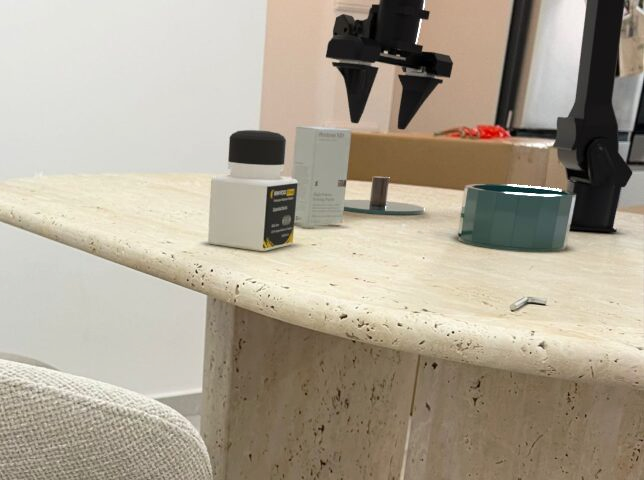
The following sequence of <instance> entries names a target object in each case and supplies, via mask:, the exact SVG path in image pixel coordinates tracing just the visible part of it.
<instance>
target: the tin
mask: <svg viewBox="0 0 644 480" xmlns="http://www.w3.org/2000/svg"><path fill="white" fill-rule="evenodd" d="M463 189H464V190H463V197H462V202H461V211H460V218H459V223H458V232H457V236H458V238H457V240H458V241H460V242H462V243H465V244H467V245H471V246H475V247H481V248H487V249H495V250H501V251H502V250H504V251H511V252H513V251H514V252H528V253H529V252H530V253H531V252H532V253H552V252H561V251H564V250H565V249H566V246H567V245H568V241H569V235H570V230H571V229H570V225H571V220H572V214H573V209H574V204H575V198H576V194H575V193H573V192H569V191H568V190H563V189H559V188H557V189H556V188H550V187H549V188H548V187H541V186H531V185H530V186H528V185H519V184H518V185H517V184H503V183H501V184H500V183H499V184H498V183H473V184H465V185H464V188H463Z"/></svg>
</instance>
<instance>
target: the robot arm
mask: <svg viewBox="0 0 644 480" xmlns="http://www.w3.org/2000/svg"><path fill="white" fill-rule="evenodd" d="M425 3H426V0H379V2H378V4H376V3H374V4H373V3H372V4H371V7H370V8H369V11H368V15H367V18H365V19H355V18H354V16H353V15H350V14H349V15H348V14H345V13H343V14H340V15H338V16H336V17H335V20H334V24H333V29H332V37H331V38H330V40H328V41H327V46H326V53H325V58H326V59H330V60H337V61H339V62H337V61H331V65H332V67H333V68H336V69H337V71H338V72H339V73H340V75H341V76H342V78H343V80H344V81H343V82H344V85H345V90H346V96H347V104H348V111H349V119H350V122H351V124H359V123H360V121H361V118H362V116H363V114H364V111H365V109H366V106H367V102H368V100H369V97H370V94H371V91H372V88H373V86H374V83H375V80H376V78H377V74H378V72H379V67H378V66H372V65H373V64H375V63H380V64H385V65H390V66H395V67H400V69H401V70H402V72H403V73H405V74H397V77H398V80H399V82H400V84H401V87H402V89H401V95H400V96H401V97H400V101H399V102H400V103H399V110H398V114H397V115H398V117H397V130H403V131H405V130H406V129H407V127H408V126H409V124H410V123H411V121H412V120H413V119H414V117H415V115H416V114H417V113H418V112H419V110H420V108H421V107H422V105H424V103H425V102H426V101H427V99H428V98H429V96H430V95H431V94H432V93H433V91H434V90H435V89H436V88H437V87H438V85H441V84H443V83H444V79H445V78H447V79H450V78H451V75H452V70H453V66H454V62H453V60H452V58H451V55H448V54H444V53H440V52H434V51H423V48H424V45H421V44H417V43H418V38H419V34H420V29H421V23H422V20H423V21H424V20H426V21H429V19H430V14H431V11H430V10H428V9H427V10H426V9H424V8H425ZM625 4H626V0H586V3H585V5H586V6H585V13H584V21H583V31H582V38H581V39H582V40H581V45H580V46H581V48H580V56H579V65H578V72H577V82H576V90H575V98H574V99H575V100H574V101H573V105H572V107H571V110H570V111H569V112H568V113H569V114H568V115H567V116H558V117H557V119H556V137H555V141H554V142H553V145H552V148H554V149H556V155H557V159H558V161H559V162H560V163H561V164H562V165H563V167H564V169H565V175H566V176H565V177H566V180H567V181H568V187H567V191H569V192H573V193H575V194H576V198H575V204H574V209H573V214H572V220H571V225H570V230H573V231H589V232H602V233H603V232H605V233H606V232H607V233H617V231H618V229H617V228H616V227H614V225H615V220H616V216H617V211H618V206H619V201H620V195H621V192H622V191H621V190H622V188H625V187H626V186H627V185H628V183H629V181H630V179H631V177H632V175H633V171H632V169H631V167H630V166H629V165H628V164H627V162H626V160H625V159H624V158H623V156H622V155H621V154H620V152H619V150H620V145H619V144H620V142H619V123H618V120H617V116H616V113H615V109H614V105H613V96H614V89H615V80H616V73H617V65H618V57H619V51H620V50H619V49H620V42H621V35H622V27H623V21H624V20H623V19H624V11H625ZM385 52H386V53H385ZM441 78H444V79H441Z"/></svg>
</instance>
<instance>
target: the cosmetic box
mask: <svg viewBox="0 0 644 480" xmlns="http://www.w3.org/2000/svg"><path fill="white" fill-rule="evenodd" d="M351 141H352V129H350V128H339V127H327V126H308V125H307V126H305V125H304V126H302V125H297V126H296V127H295V136H294V146H293V159H292V171H291V178H292V179H296V180H297V182H298V185H297V197H296V209H295V221H294V226H296V227H300V228H307V229H308V228H335V227H336V228H337V227H339V228H340V227H341V225H339V224H343V220H344V211H345V210H344V201H345V200H346V191H347V181H348V170H349V159H350V149H351Z"/></svg>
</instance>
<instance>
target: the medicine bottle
mask: <svg viewBox="0 0 644 480" xmlns="http://www.w3.org/2000/svg"><path fill="white" fill-rule="evenodd" d="M286 144H287V140H286V137H285V136H284V135H282V134H280V133H279V132H275V131H270V130H260V129H259V130H255V129H245V130H244V129H243V130H237V131H235V132H232V133H231V135H229V142H228V158H227V169H228V170H230V174H225V175H224V174H223V175H218V176H212V177H211V179H210V194H209V213H208V215H209V216H208V233H207V234H208V235H207V242H208V244H210V245H215V246H223V247H229V248H235V249H236V248H237V249H243V250H249V251H257V252H267V251H270V250H271V251H272V250H275V249H279V248H284V247H287V246H291V245H292V244H293V242H294V231H295V225H294V223H295V209H296V197H297V185H298V182H297V180H296V179H292V177H287V176H281V173H282V172H284V170H285V159H286V147H287V146H286Z"/></svg>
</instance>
